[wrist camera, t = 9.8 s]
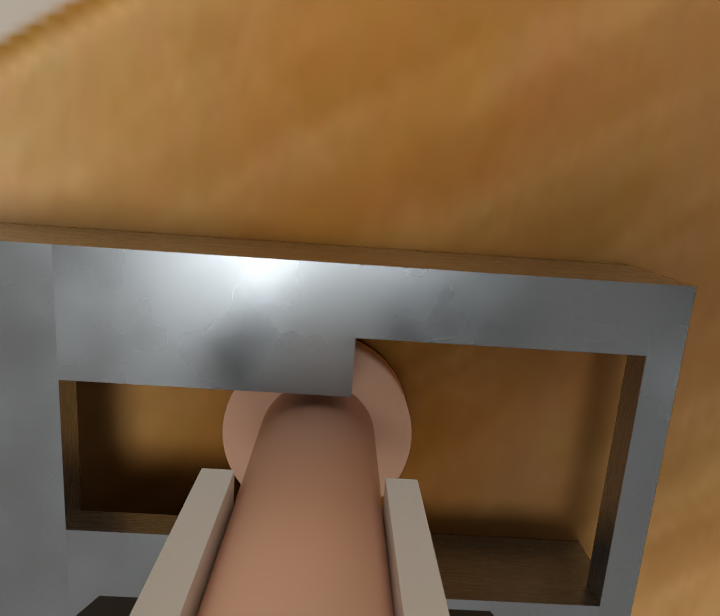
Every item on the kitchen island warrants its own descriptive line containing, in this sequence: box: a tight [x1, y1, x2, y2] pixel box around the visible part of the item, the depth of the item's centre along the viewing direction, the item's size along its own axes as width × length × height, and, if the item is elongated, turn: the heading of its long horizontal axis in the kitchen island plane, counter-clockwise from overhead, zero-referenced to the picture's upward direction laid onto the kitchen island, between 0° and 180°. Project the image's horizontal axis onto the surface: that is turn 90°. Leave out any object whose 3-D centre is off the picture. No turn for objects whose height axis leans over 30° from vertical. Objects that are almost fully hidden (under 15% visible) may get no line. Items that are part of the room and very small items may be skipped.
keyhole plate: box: [0, 223, 696, 616], centre depth 18 cm, size 21×12×4 cm, turn 86°
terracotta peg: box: [197, 340, 412, 616], centre depth 12 cm, size 6×6×15 cm
